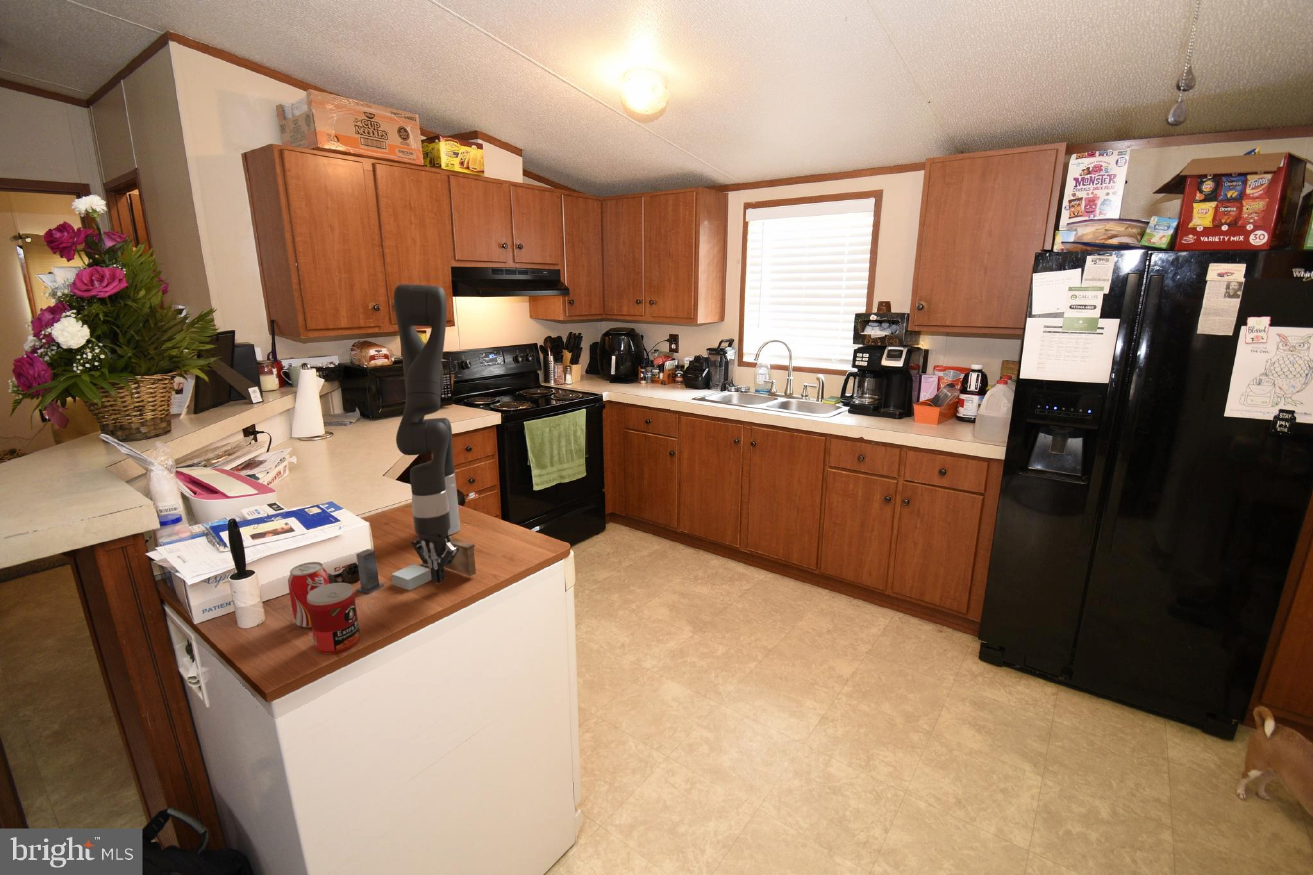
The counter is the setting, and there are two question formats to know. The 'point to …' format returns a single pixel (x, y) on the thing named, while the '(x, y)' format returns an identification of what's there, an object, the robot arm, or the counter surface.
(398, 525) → the counter surface
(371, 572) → the post
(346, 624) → the canned food
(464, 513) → the counter surface
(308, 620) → the soda can
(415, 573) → the block
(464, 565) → the gate
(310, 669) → the counter surface
